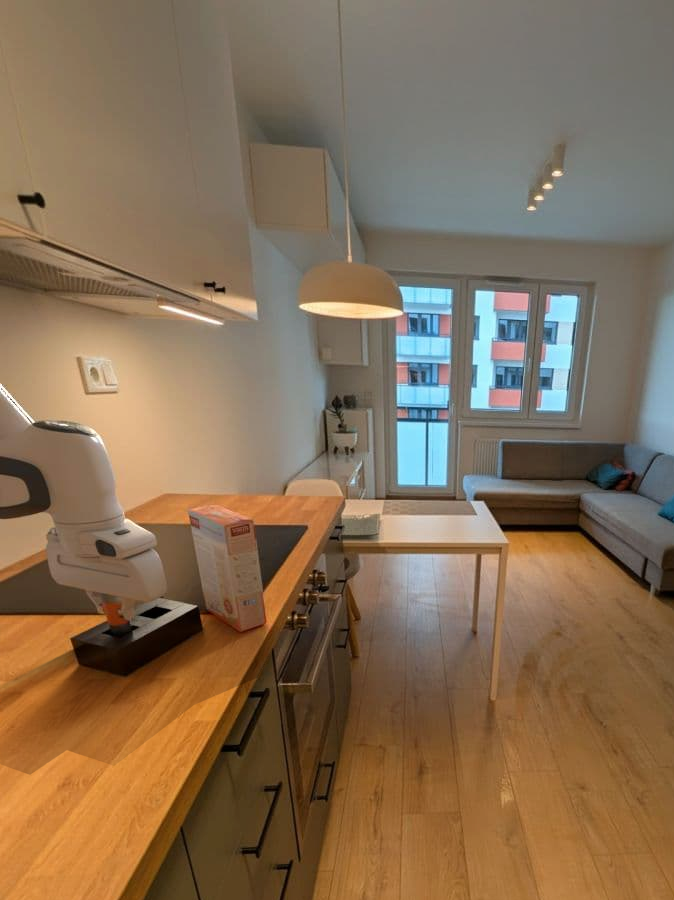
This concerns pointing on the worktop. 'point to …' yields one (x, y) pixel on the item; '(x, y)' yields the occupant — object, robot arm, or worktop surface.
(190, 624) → the holder
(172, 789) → the worktop surface
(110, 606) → the orange banded battery
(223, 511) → the cracker box
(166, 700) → the worktop surface
